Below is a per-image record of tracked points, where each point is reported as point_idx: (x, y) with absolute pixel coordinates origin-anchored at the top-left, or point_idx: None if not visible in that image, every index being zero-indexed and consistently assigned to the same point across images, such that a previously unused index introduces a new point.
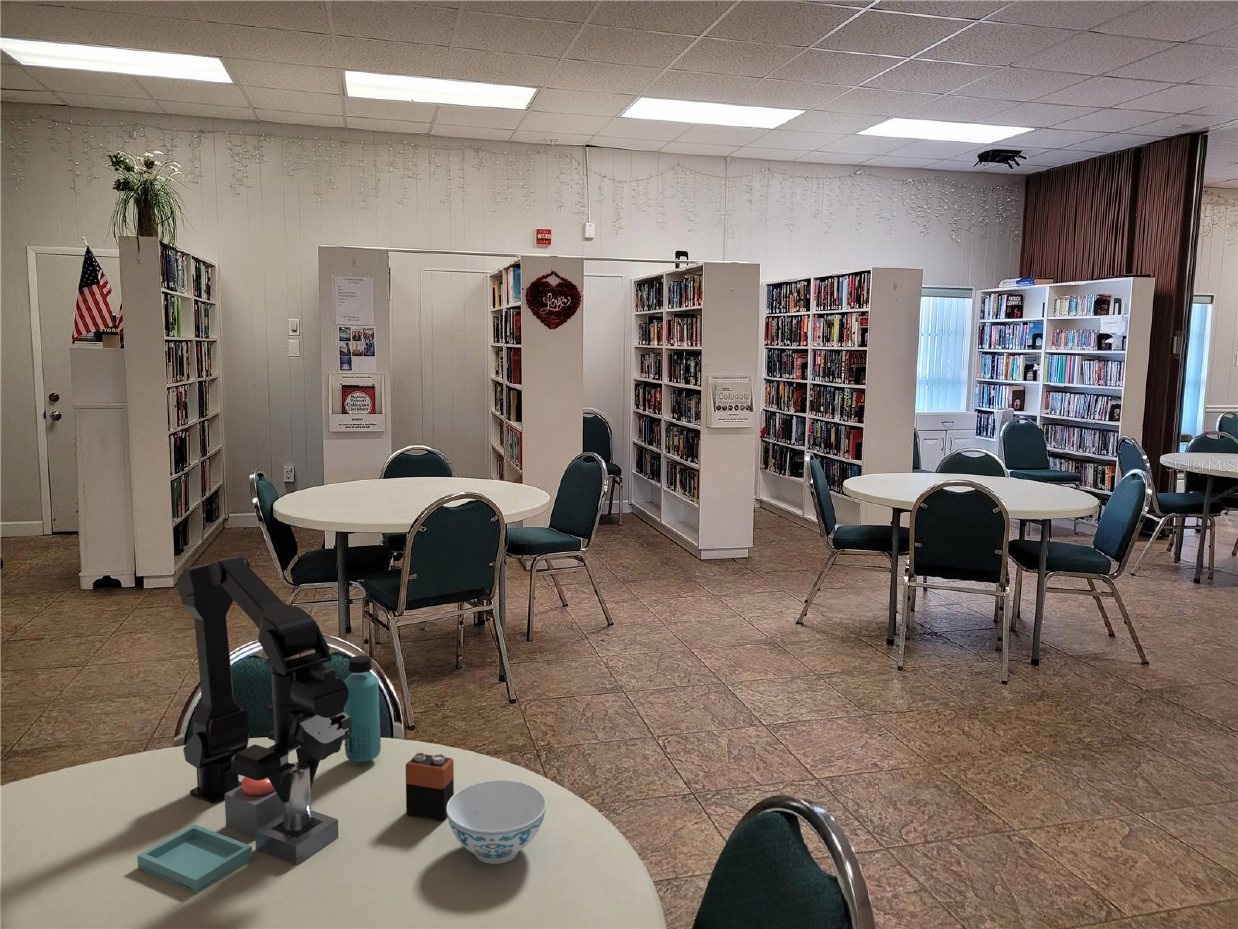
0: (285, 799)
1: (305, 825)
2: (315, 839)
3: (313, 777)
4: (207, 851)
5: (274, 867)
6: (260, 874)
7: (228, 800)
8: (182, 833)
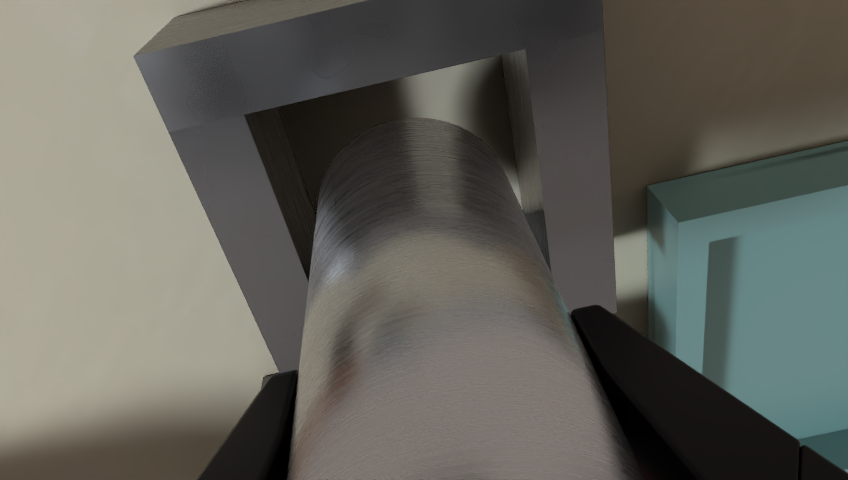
0: (625, 331)
1: (408, 124)
2: None
3: (217, 473)
4: (731, 356)
5: (640, 21)
6: (731, 17)
7: None
8: None
